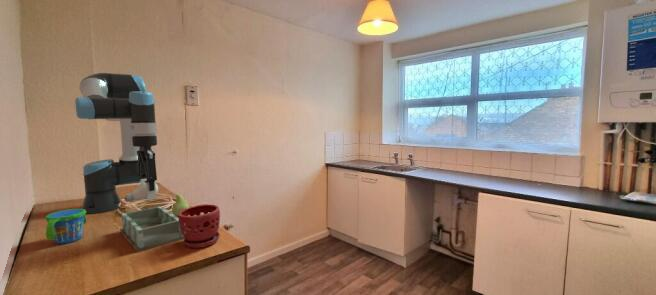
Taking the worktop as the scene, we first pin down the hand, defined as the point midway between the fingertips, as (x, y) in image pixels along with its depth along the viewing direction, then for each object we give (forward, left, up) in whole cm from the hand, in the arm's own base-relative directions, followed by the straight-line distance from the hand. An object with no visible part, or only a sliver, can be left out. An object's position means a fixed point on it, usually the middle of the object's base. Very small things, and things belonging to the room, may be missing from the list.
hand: (148, 197), depth 107 cm
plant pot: (+20, +10, -15) cm, 27 cm away
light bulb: (0, -2, 0) cm, 2 cm away
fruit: (-14, +15, -15) cm, 25 cm away
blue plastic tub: (-17, -22, -15) cm, 31 cm away
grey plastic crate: (0, 0, -14) cm, 14 cm away
